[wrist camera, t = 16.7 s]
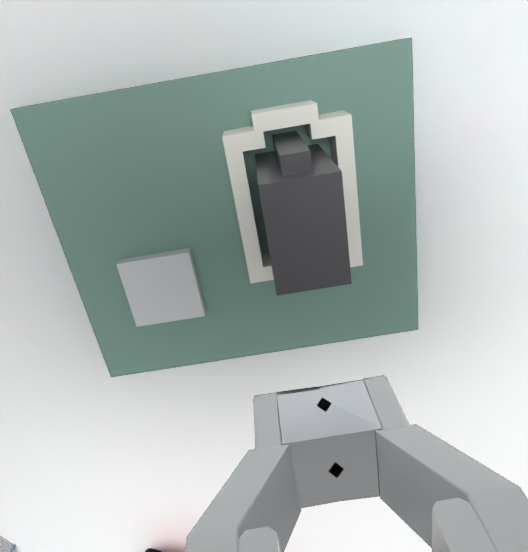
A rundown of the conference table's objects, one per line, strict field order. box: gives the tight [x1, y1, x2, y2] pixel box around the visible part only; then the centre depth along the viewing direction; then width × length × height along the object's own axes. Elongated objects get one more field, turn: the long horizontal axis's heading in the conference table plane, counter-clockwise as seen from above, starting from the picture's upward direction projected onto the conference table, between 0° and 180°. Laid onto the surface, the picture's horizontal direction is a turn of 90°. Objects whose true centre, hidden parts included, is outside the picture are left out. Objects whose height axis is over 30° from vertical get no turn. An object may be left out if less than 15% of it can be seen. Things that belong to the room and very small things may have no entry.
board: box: [10, 38, 418, 377], centre depth 31 cm, size 24×20×4 cm
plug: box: [255, 131, 352, 296], centre depth 26 cm, size 4×7×8 cm, turn 9°
